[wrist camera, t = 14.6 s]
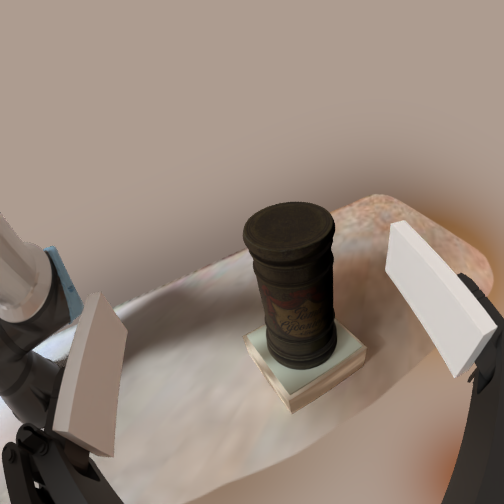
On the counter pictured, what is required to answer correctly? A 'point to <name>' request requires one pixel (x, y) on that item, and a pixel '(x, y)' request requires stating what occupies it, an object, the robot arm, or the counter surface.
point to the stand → (310, 380)
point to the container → (295, 281)
